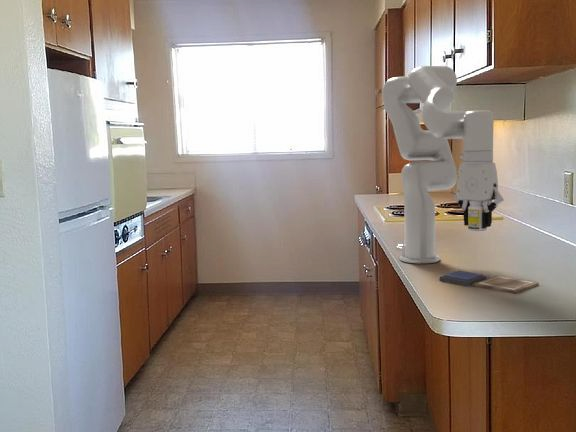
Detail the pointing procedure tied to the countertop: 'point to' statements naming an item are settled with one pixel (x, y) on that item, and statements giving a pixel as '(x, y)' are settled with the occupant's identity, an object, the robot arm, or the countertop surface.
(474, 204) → the supplement bottle
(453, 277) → the ink pad
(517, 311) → the countertop surface
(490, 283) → the marked board
